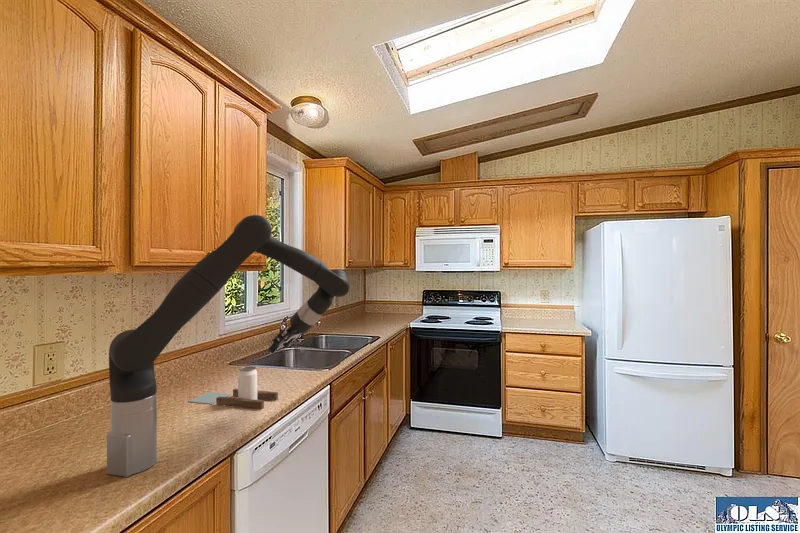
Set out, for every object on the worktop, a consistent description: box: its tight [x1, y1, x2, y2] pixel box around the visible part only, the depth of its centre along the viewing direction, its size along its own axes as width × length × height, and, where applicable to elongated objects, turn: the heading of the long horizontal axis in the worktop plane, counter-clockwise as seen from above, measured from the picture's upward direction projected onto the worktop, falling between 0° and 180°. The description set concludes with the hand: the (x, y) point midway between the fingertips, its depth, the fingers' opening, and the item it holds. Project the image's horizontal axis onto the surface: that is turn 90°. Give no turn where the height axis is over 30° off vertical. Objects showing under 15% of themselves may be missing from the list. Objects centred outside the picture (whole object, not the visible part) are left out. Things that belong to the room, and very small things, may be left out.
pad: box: [187, 391, 232, 405], centre depth 139 cm, size 10×10×1 cm
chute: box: [215, 388, 279, 410], centre depth 135 cm, size 10×18×2 cm, turn 76°
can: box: [237, 366, 258, 400], centre depth 135 cm, size 6×6×12 cm
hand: (277, 348), depth 132 cm, fingers open, 8 cm apart
